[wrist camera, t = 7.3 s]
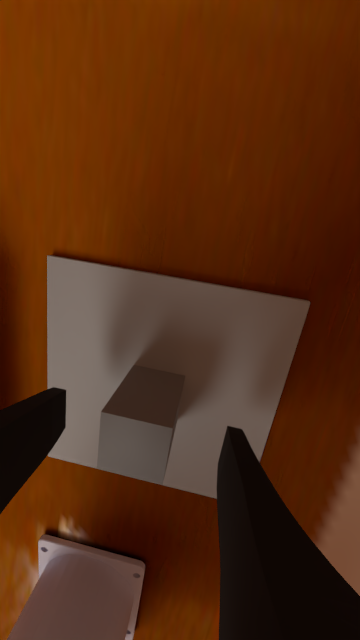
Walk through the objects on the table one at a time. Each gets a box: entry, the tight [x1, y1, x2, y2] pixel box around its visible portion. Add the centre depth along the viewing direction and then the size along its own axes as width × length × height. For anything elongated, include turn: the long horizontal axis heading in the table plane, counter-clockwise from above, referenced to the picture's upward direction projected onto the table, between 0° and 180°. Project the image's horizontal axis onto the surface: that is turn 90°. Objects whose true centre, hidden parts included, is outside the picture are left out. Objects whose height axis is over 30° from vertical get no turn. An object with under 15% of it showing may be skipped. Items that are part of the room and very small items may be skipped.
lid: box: [47, 255, 311, 499], centre depth 12 cm, size 13×13×5 cm
